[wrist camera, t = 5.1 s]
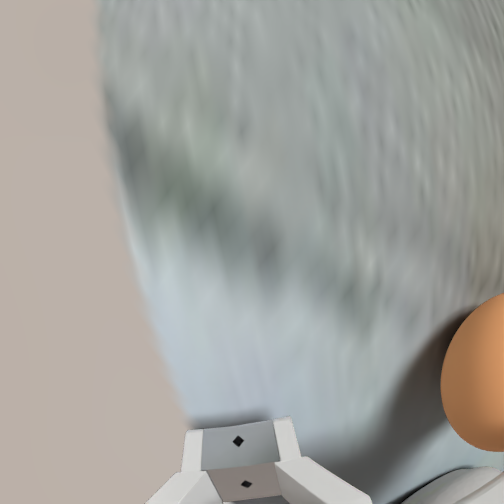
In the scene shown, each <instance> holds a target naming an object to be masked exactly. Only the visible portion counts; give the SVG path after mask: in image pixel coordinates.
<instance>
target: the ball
mask: <svg viewBox="0 0 504 504" xmlns="http://www.w3.org/2000/svg"><path fill="white" fill-rule="evenodd" d="M441 398H442V404H443V408H444V411H445V414H446V416H447V418H448V421H449V423H450V424H451V426H452V427H453V429H454V430H455V432H456V433H457V434H458V435H459V436H460V437H461V438H462V439H463V440H465V441H466V442H467V443H469V444H471V445H472V446H474V447H477V448H479V449H482V450H486V451H493V452H504V293H503V294H500V295H497V296H495V297H493V298H491V299H489V300H488V301H486V302H484V303H483V304H481V305H480V306H479V307H478V308H476V309H475V310H474V311H473V312H472V313H471V314H470V315H469V316H468V317H467V318H466V319H465V320H464V322H463V323H462V324H461V326H460V327H459V329H458V330H457V332H456V333H455V335H454V337H453V339H452V341H451V343H450V345H449V347H448V350H447V352H446V355H445V358H444V362H443V367H442V373H441Z"/></svg>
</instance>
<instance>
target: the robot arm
mask: <svg viewBox="0 0 504 504" xmlns="http://www.w3.org/2000/svg"><path fill="white" fill-rule="evenodd" d="M273 425H274V426H273ZM278 495H282V497H283V498H285V499H286V500H287V501H288V502H289V503H290V504H372V501H371V499H370V496H368V495H367V494H365V493H363V492H362V491H360V490H358V489H357V488H355V487H353V486H352V485H350V484H348V483H347V482H345V481H344V480H342V479H340V478H339V477H337V476H336V475H334V474H333V473H331V472H330V471H328V470H327V469H325V468H324V467H322V466H321V465H319V464H318V463H316V462H315V461H313V460H312V459H310V458H309V457H307V456H305V457H301V453H300V449H299V445H298V442H297V438H296V434H295V430H294V426H293V422H292V419H291V417H290V416H287V417H282V418H277V419H273V421H272V420H266V421H261V422H255V423H249V424H242V425H238V426H228V427H218V428H206V429H196V430H187V432H186V434H185V441H184V449H183V457H182V466H181V472H176V473H175V474H174V475H173V476H172V477H171V478H170V479H169V480H168V481H167V482H166V483H165V484H164V485H163V486H162V487H161V488H160V489H159V490H158V491H157V492H156V493H155V494H154V495H153V496H152V497H151V498H150V499H149V500H148V501H147V502H146V503H145V504H223V502H230V501H239V500H247V499H254V498H263V497H271V496H278ZM453 504H504V471H503V472H502V473H501V474H499V475H498V476H496V477H495V478H493V479H492V480H491V481H489V482H488V483H486V484H484V485H483V486H481V487H480V488H478V489H477V490H475V491H473V492H472V493H470V494H468V495H467V496H465V497H463V498H462V499H460V500H458V501H456V502H455V503H453Z"/></svg>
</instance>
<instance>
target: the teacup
mask: <svg viewBox="0 0 504 504" xmlns="http://www.w3.org/2000/svg"><path fill="white" fill-rule="evenodd" d="M501 473H502V472H501V471H499V470H498V469H496V468H493V467H488V466H485V467H477V468H472V469H459V470H455V471H453V472H450V473H448V474H446V475H444V476H442V477H440V478H438V479H436V480H434V481H433V482H431V483H430V484H428V485H426V486H425V487H423V488H422V489H420V490H419V491H417V492H416V493H414V494H413V495H411V496H410V497H409V498H407V499H406V500H405V501H404V502H402V503H401V504H453V503H455V502H456V501H458V500H460V499H462V498H463V497H465V496H467V495H468V494H470V493H472V492H473V491H475V490H477V489H478V488H480V487H481V486H483V485H484V484H486V483H488V482H489V481H491V480H492V479H493V478H495V477H496V476H498V475H499V474H501Z"/></svg>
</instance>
